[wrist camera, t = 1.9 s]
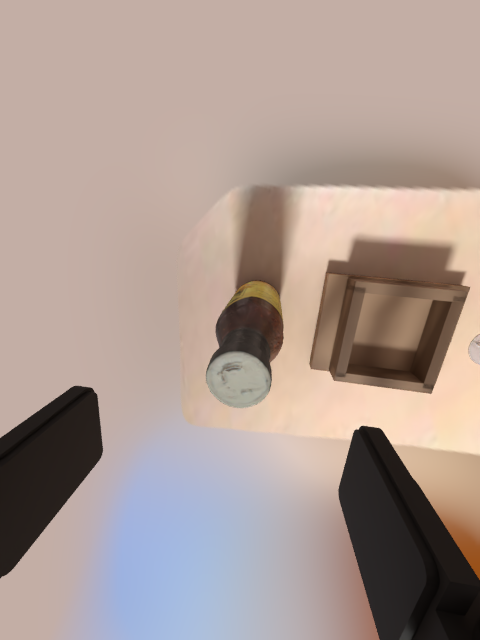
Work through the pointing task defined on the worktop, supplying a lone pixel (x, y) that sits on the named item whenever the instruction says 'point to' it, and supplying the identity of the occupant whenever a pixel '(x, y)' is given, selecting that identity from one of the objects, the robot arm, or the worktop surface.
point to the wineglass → (475, 350)
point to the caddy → (385, 330)
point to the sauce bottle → (246, 346)
